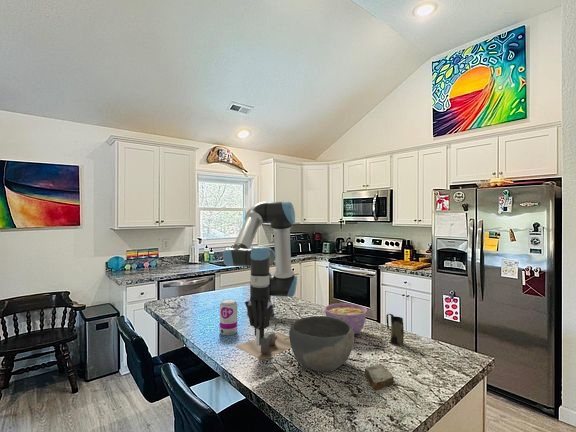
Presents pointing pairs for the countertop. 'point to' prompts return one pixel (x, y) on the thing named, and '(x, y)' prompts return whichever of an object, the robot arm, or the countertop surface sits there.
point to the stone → (378, 377)
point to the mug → (396, 330)
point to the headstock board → (280, 345)
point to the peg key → (267, 341)
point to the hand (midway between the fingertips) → (259, 344)
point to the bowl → (321, 342)
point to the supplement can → (228, 317)
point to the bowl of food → (348, 314)
